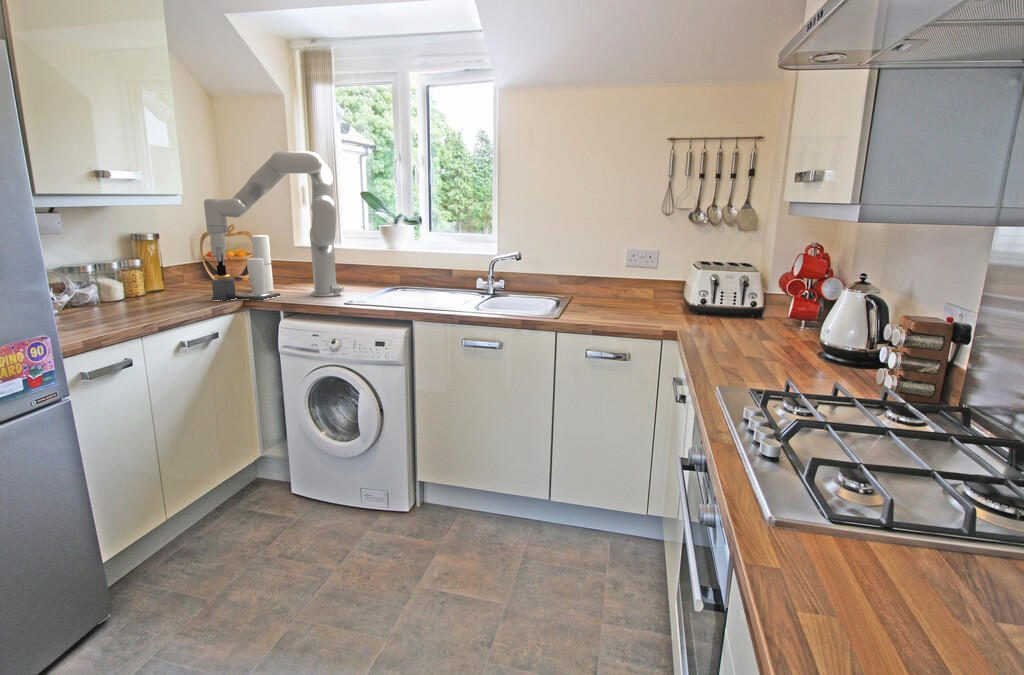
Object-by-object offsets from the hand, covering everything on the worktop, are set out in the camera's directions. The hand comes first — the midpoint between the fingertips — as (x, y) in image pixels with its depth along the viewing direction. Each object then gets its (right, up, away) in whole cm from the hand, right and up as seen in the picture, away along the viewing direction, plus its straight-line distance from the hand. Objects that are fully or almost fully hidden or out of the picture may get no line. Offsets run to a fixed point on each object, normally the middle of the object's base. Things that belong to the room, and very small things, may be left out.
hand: (222, 275), depth 237 cm
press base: (+7, -9, +6) cm, 13 cm away
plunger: (0, -8, +2) cm, 8 cm away
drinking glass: (+12, -8, +7) cm, 16 cm away
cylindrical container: (+7, -5, +25) cm, 26 cm away
